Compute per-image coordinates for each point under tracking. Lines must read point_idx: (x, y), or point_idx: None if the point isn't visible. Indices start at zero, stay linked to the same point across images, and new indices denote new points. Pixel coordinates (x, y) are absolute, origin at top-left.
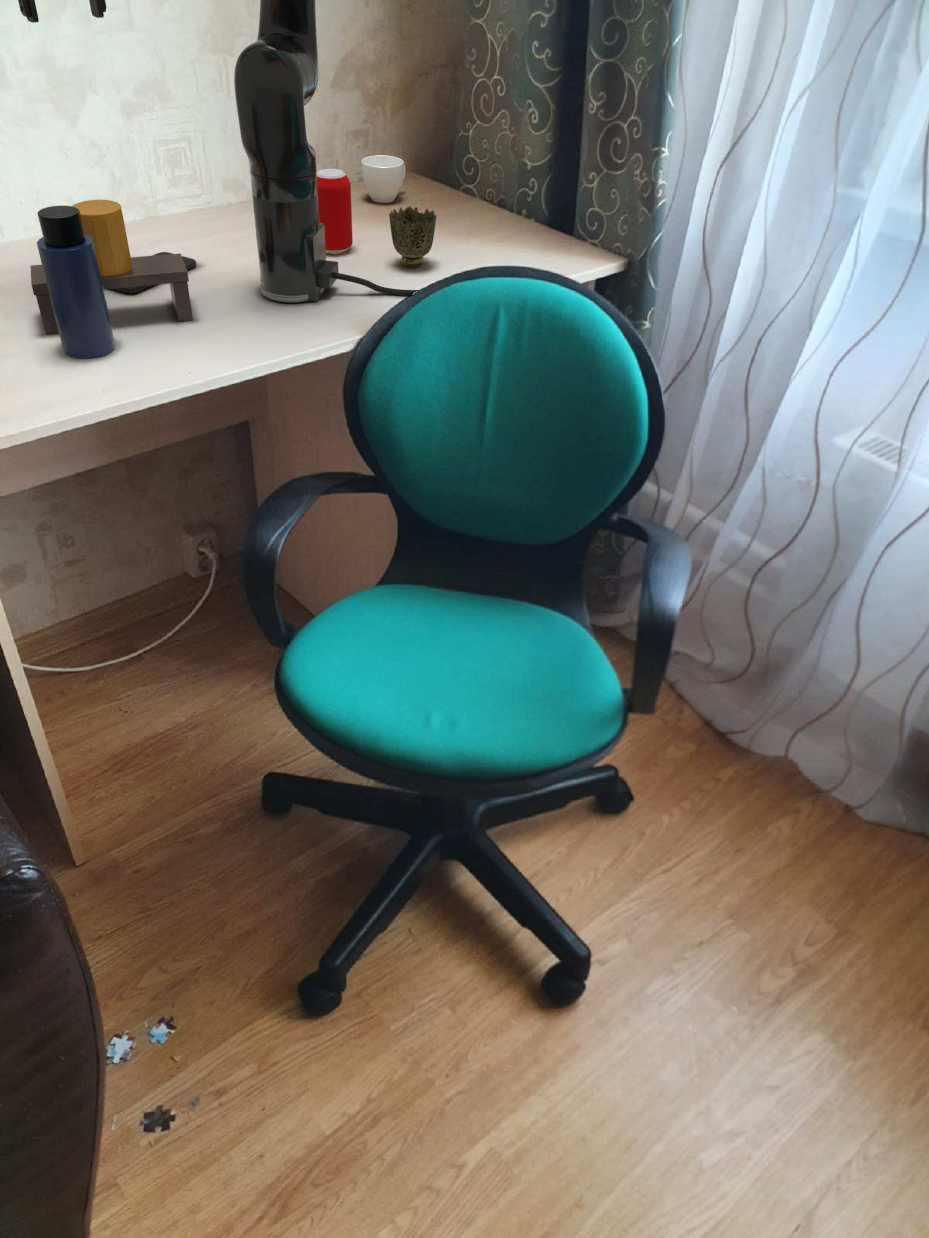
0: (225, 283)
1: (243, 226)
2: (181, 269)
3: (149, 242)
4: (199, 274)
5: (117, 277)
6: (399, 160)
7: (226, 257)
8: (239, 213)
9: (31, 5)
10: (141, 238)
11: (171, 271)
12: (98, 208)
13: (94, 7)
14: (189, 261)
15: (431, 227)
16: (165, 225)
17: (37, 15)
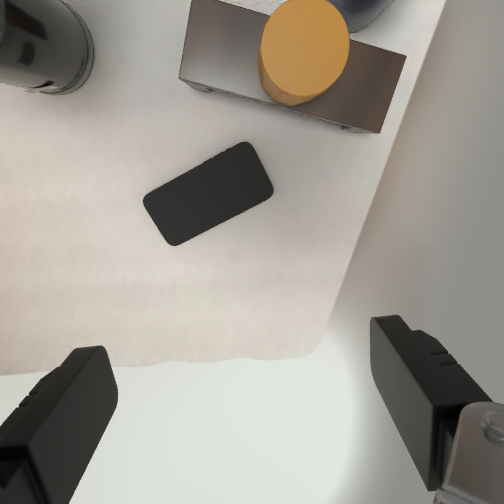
0: (127, 125)
1: (51, 299)
2: (198, 5)
3: (174, 297)
4: (149, 171)
5: None
6: None
7: (101, 210)
8: (44, 341)
9: (416, 349)
10: (179, 313)
11: (215, 3)
12: (303, 36)
13: (94, 392)
14: (151, 200)
15: None
16: (140, 340)
17: (381, 325)
